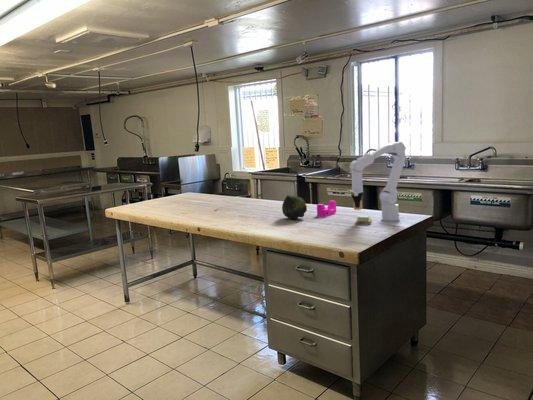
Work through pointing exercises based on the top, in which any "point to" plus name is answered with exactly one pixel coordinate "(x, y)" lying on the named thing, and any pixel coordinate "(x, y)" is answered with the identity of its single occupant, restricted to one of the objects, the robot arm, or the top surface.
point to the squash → (294, 207)
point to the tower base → (364, 222)
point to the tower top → (363, 218)
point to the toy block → (326, 209)
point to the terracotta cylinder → (359, 207)
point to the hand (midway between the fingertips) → (357, 206)
